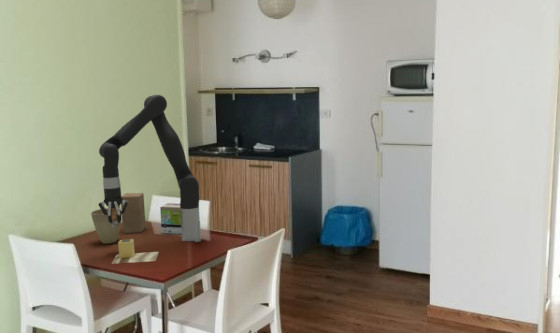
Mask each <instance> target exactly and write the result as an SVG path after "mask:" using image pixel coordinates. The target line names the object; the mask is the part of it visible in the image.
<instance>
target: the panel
mask: <svg viewBox="0 0 560 333" xmlns="http://www.w3.org/2000/svg"><path fill="white" fill-rule="evenodd" d="M159 254H160V252H159V251H152V252H151V251H148V252H135V254H134V256H133V257H127V258H119V253H118V254H116V255H115V257H114V259H113V260H112V262H111V264H112V265H113V264H127V263H145V262H156V261H157V258H158V255H159Z"/></svg>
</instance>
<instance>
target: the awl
mask: <svg viewBox="0 0 560 333" xmlns="http://www.w3.org/2000/svg"><path fill="white" fill-rule="evenodd" d="M117 215H118V213H117V210H116V208H111V218H112V227H118V226H119V223H118V217H117Z"/></svg>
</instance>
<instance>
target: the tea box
mask: <svg viewBox="0 0 560 333" xmlns="http://www.w3.org/2000/svg"><path fill="white" fill-rule="evenodd" d="M159 208H160V209H159V210H160V223H161V224H160V227H161V234H173V235H175V234H176V235H182V229H181V212H180V203H176V202H175V203H174V202H170V203H169V202H167V203H166V204H164V205H162V206H160V207H159Z"/></svg>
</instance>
